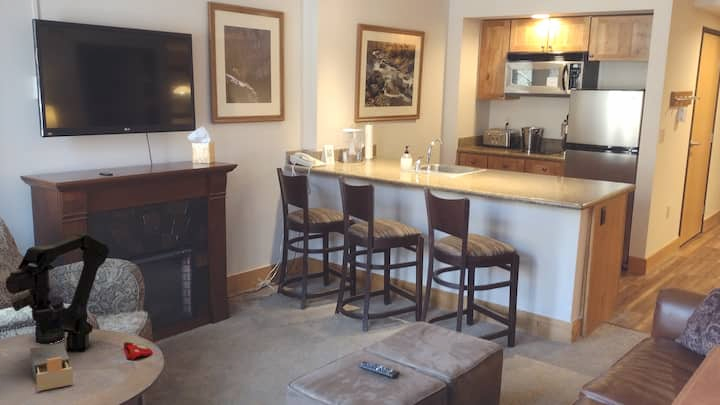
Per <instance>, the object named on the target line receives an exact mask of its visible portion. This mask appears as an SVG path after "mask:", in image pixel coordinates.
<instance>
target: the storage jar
mask: <svg viewBox="0 0 720 405" xmlns="http://www.w3.org/2000/svg"><path fill="white" fill-rule="evenodd" d="M50 300H51V304H49V305H50V306H51V307H53V309H54V317H53V318H52V320H51V322H50V325H49V327H48V329H47V331H46V334H45V335H41V332H40V328H39V325H38V322H37V321H35V329H34V330H35V331H34V335H35V343H36V342H37V343H36V344H38V343H39V344H38V345H41V344H50V343H55V342H57V341H60V340H62V339H63V338H64V337H65V338H66V336H65V334H66V332H64V331H63V328H62V327H61V325H60V319H59V318H60V316H61V314H62V310H63V308H65V305H64V298H63V297H59V296H50Z"/></svg>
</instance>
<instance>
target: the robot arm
mask: <svg viewBox="0 0 720 405" xmlns="http://www.w3.org/2000/svg"><path fill="white" fill-rule="evenodd" d="M76 250H80V251H82V255H81V258H82V262H83V266H82V270H81V273H80V276H79V280H78V282H77V285H76V288H75V290H74V291H75V292H74V295H73V298H72V301H71V303H70V305H68V306H67V307H64V308H63V310H62V314H61V316H60V318H59V319H60V325H61V327H62V328H63V331H64V332H65V333H67V335H66V336H65V340H66V344H65V345H66V348H65V349H66V352H75V351H79V352H80V351H82V353H83V352H84V353H85V351H87V350H88V349H89V348H90V346H91V345H92V344H91V343H90V340H89V339H90V338H89V336H90V334H91V333H92V332H93V328H94V326H93V325H92V324H91V323H89V322H88V316H89V315H88V310H87V305H88V301H89V299H90V295H91V292H92V289H93V286H94V282H95V281H96V280H95V279H96V276H97V273H98V270H99V268H101V266H102V265H103V264H104V263H105V262H106V260H107V258H108V256H109V252H110V249H109V247H108V245H107V244H105V243H102V242H100V241H98V240H96V239H93V238H92V237H91V236H89V235H88V234H82V233H76V234H74V235H73V236H70V237H68V238H66V239H63V240H59V241H57V242H54V243H51V244H48V245H37V246H36V245H35V246H32V247H29V248H27V250H26V252H25V254H24V256H23V258H22V260H21V262H20V264H19V265H18V268H17V270H16V271H10V273H9V276H8V277H7V278H6V279H5V287H6V290H7V291H8V292H9V293H10V294H12V295H15V294H19V293H21V292H25V291H27V292H25V293H22V294H20V295H18V296H15V297H13V298H11V299H10V300H9V301H10V304H11V306H12V308H13V310H14V312H18V311H20V310H21V309H24V308H26V307H28V308H30V309H31V318H32V320H33V321H34V322H36V321H37V322H38V325H39V328H40V332H41V335H45V334H46V331H47V329H48V327H49V325H50V322H51V320H52V318H53V317H54V309H53V307H51V306H50V305H49V304H51V300H50V297H51V288H50V271H52V270H55V267H54V266H53V265H52V264H53V263H54V262H55V261H56V260H57V258H59V257H60V256H62V255H63V256H64V255H65V254H66V255H67V254H68V253H71V252H74V251H76ZM79 352H78V353H79ZM80 353H81V352H80Z"/></svg>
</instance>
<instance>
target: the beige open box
mask: <svg viewBox="0 0 720 405" xmlns="http://www.w3.org/2000/svg"><path fill="white" fill-rule="evenodd" d="M73 370H74V369H73V367H71V366H69V367H68V365H67V362H66V361H62V360H61V357H58V358H52V359H47V364H43V365H38V366H36V377H37V382H36V392H41V391H45V390H50V389H56V388H61V387H67V386H71V385H74V378H73V376H74V375H73Z"/></svg>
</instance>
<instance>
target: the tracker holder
mask: <svg viewBox="0 0 720 405" xmlns="http://www.w3.org/2000/svg"><path fill="white" fill-rule="evenodd" d="M134 343H135V342H133V341H128V340H126V341H125V342H122V345H123V351H124V352H125V353H124V354H125V357H126V359H129V360H132V361H134V360H135V359H137V358H138V357H140V356H141V357H142V356H151V355H152V354H153V350H152V349H150V348H149V347H148V346H146V345H144V344H143V345H142V344H134Z"/></svg>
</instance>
